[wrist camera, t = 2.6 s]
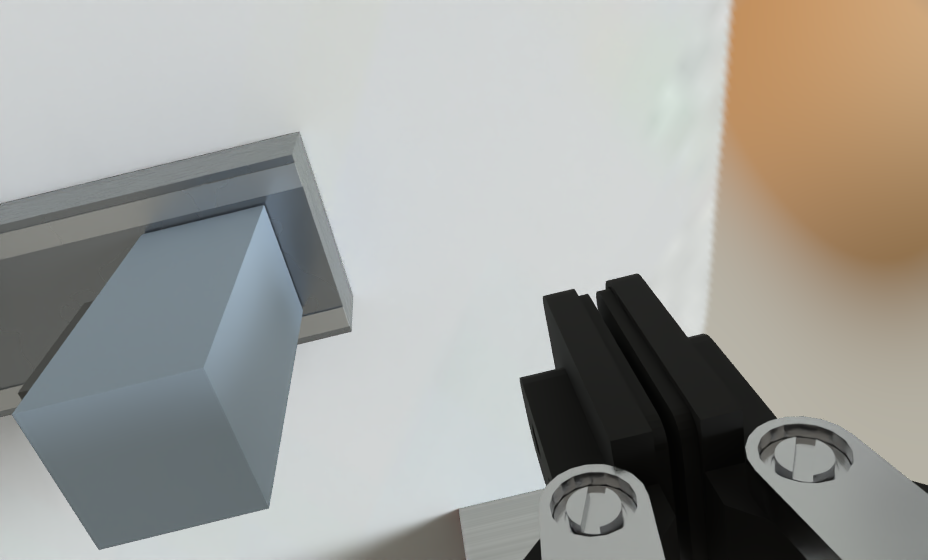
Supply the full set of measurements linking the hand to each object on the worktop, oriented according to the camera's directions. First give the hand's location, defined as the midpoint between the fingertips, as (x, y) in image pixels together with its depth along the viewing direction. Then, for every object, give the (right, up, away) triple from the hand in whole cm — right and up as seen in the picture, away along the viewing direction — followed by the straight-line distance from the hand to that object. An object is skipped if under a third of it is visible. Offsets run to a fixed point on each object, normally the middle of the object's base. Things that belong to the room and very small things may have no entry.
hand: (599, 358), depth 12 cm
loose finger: (-9, +1, +5) cm, 10 cm away
